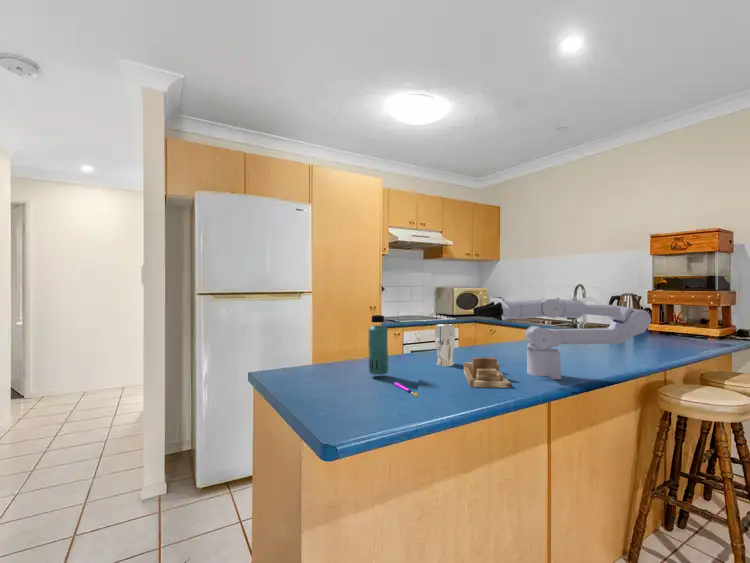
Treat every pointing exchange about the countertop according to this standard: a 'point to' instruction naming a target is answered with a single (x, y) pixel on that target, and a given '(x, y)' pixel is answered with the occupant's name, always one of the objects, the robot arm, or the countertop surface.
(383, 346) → the beverage bottle
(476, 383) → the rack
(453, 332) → the beer glass
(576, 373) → the countertop surface
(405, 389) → the pink paintbrush
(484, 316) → the robot arm
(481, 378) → the offcut low
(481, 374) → the offcut top
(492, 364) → the tall board
